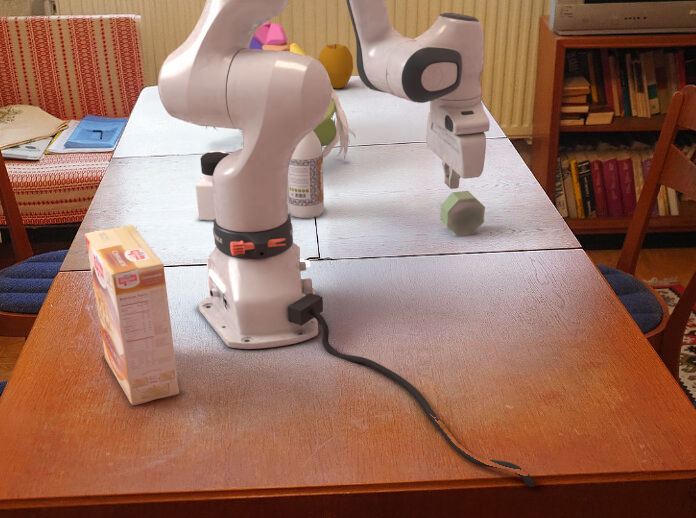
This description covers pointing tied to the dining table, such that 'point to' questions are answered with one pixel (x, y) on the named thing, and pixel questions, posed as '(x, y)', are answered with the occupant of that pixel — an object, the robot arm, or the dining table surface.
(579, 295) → the dining table surface
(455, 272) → the dining table surface
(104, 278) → the coffeecake box
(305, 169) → the bath foam
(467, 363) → the dining table surface
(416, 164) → the dining table surface
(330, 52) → the apple
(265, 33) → the colorful pinata
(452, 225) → the tin
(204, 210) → the medicine bottle
